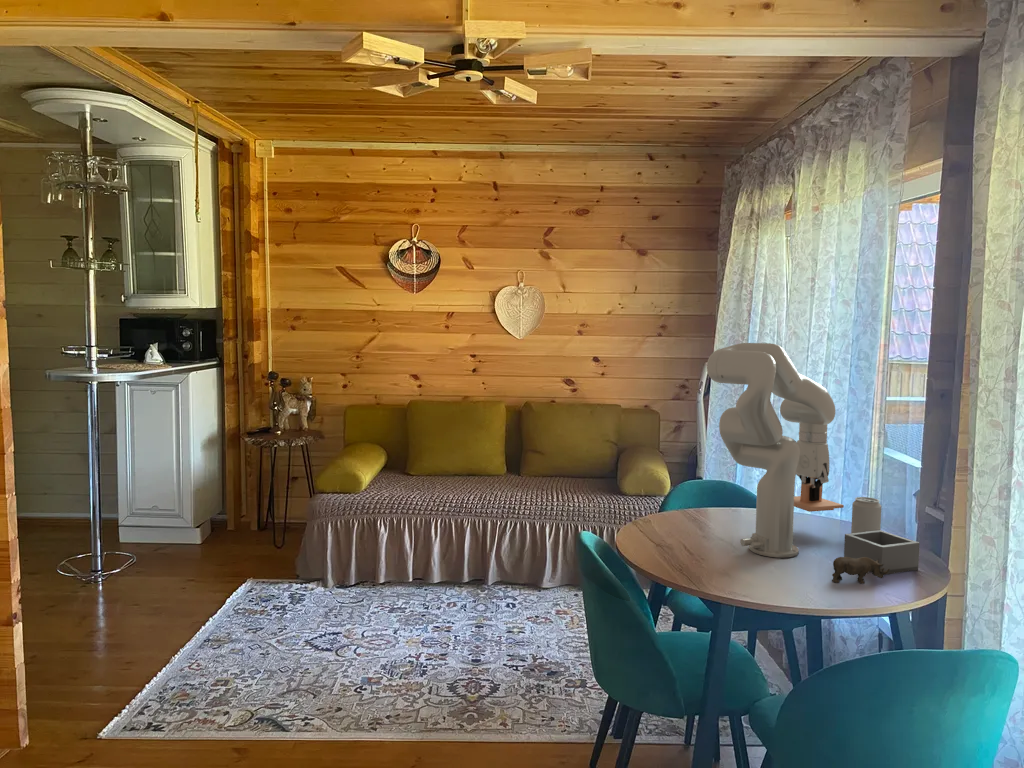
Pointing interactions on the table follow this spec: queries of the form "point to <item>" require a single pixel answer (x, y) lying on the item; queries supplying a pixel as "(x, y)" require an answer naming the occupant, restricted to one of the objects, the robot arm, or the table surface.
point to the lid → (812, 506)
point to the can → (866, 515)
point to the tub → (884, 550)
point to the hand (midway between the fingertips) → (810, 499)
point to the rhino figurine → (857, 568)
